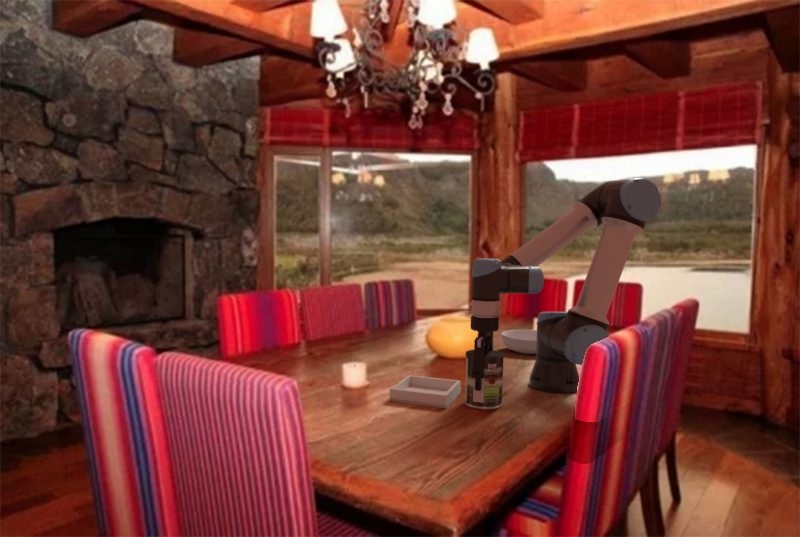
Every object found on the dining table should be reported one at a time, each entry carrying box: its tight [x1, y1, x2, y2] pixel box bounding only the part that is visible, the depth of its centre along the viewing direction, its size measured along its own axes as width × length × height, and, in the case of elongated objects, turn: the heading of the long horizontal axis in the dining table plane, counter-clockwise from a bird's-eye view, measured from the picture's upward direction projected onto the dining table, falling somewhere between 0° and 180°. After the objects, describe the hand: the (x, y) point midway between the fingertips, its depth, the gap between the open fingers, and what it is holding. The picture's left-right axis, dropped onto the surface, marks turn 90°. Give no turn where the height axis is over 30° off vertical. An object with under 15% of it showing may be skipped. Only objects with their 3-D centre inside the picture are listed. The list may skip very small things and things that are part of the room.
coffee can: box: [464, 349, 505, 410], centre depth 159 cm, size 10×10×14 cm
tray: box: [389, 374, 462, 409], centre depth 164 cm, size 16×16×4 cm
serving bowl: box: [500, 329, 537, 355], centre depth 227 cm, size 21×21×7 cm
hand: (482, 396), depth 159 cm, fingers closed on coffee can, 10 cm apart
